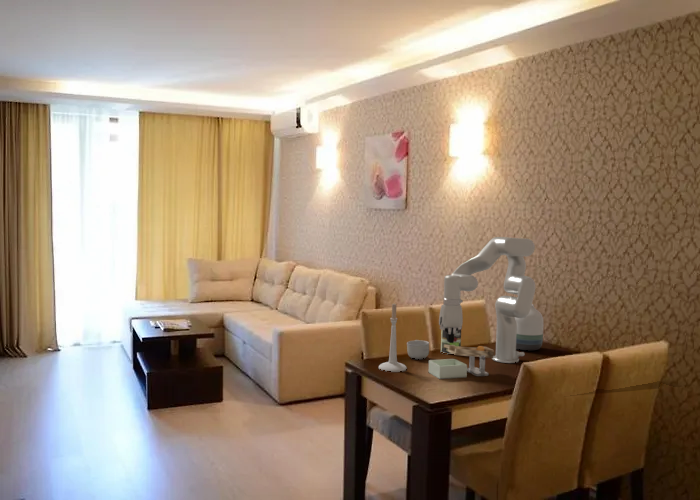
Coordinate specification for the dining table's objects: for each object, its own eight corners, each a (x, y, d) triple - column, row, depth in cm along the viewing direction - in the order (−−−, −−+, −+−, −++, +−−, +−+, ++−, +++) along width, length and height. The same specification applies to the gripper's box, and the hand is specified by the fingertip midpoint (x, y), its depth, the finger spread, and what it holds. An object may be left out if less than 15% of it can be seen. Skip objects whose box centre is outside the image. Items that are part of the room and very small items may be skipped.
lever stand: (476, 369, 269) (476, 349, 269) (489, 375, 259) (489, 355, 258) (464, 370, 268) (465, 350, 267) (477, 376, 257) (477, 356, 256)
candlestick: (411, 371, 264) (412, 304, 262) (384, 372, 260) (385, 305, 259) (400, 364, 276) (402, 300, 274) (374, 365, 272) (376, 301, 271)
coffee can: (464, 354, 298) (465, 327, 298) (445, 355, 296) (446, 327, 295) (455, 350, 308) (456, 323, 308) (437, 350, 306) (438, 323, 305)
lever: (476, 350, 275) (477, 343, 275) (493, 357, 261) (494, 350, 261) (439, 347, 270) (440, 339, 270) (455, 354, 255) (456, 347, 255)
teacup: (427, 361, 282) (428, 345, 282) (405, 360, 285) (405, 343, 284) (429, 355, 296) (430, 339, 296) (408, 353, 298) (408, 338, 298)
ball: (480, 353, 265) (482, 345, 265) (484, 355, 262) (486, 347, 262) (474, 351, 264) (476, 344, 264) (478, 353, 261) (480, 345, 261)
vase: (504, 345, 322) (506, 302, 321) (534, 345, 324) (535, 302, 323) (516, 352, 305) (518, 306, 304) (547, 352, 307) (549, 306, 306)
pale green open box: (454, 370, 266) (455, 358, 266) (466, 377, 255) (467, 364, 255) (428, 372, 262) (428, 360, 262) (439, 379, 252) (439, 366, 251)
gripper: (462, 300, 274) (461, 340, 275) (433, 301, 269) (431, 341, 270) (470, 303, 267) (469, 343, 267) (440, 303, 262) (439, 344, 263)
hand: (450, 342), depth 269 cm, fingers closed
